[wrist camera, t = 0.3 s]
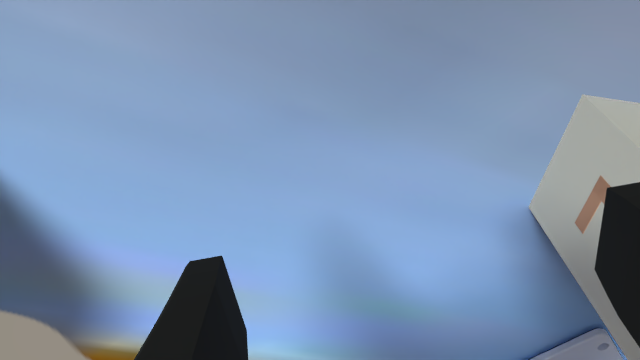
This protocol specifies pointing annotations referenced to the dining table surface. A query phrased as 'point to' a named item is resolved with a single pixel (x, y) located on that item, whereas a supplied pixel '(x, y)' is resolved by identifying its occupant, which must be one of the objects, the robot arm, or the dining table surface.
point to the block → (590, 194)
